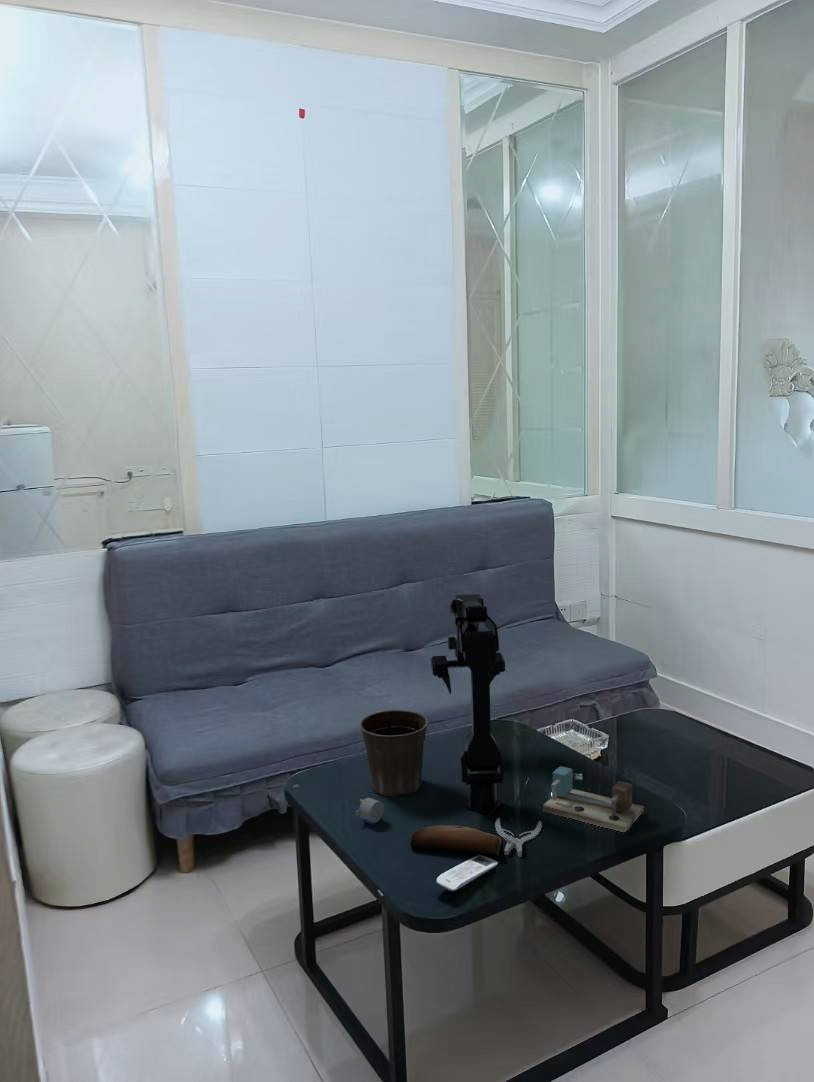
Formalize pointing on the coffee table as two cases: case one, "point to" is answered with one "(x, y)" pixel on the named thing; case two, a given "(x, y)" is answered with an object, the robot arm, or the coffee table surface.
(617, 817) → the beige board with blocks
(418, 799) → the coffee table surface
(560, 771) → the teal block
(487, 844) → the sunglasses case
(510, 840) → the pliers
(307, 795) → the coffee table surface
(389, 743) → the plant pot
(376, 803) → the electric motor
